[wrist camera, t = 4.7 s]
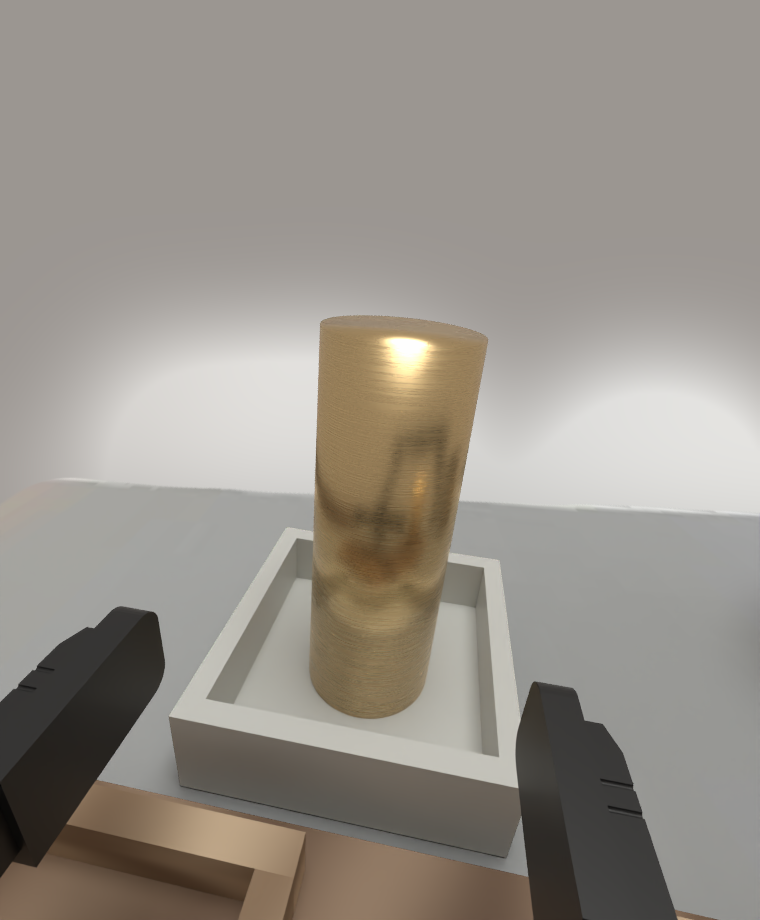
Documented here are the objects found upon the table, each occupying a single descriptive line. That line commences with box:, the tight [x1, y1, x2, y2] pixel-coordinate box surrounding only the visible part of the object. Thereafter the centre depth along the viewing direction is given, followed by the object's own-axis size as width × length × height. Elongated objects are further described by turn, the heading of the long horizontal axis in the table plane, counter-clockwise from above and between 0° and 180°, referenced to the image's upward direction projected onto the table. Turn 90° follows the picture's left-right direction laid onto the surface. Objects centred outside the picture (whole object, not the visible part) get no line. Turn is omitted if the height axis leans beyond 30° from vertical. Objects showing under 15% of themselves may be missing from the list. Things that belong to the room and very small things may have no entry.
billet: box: [309, 315, 488, 719], centre depth 17 cm, size 5×5×14 cm
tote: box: [169, 527, 521, 858], centre depth 20 cm, size 11×11×4 cm
